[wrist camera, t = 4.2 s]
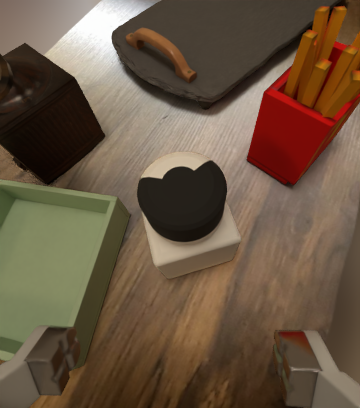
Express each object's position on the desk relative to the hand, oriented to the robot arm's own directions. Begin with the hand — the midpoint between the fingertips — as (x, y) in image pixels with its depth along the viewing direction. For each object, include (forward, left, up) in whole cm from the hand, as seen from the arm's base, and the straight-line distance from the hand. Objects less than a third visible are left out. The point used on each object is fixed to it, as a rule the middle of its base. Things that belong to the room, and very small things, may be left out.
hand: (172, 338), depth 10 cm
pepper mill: (+18, +21, -15) cm, 31 cm away
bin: (+3, +17, -14) cm, 22 cm away
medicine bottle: (+9, +2, -15) cm, 17 cm away
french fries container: (+22, -8, -15) cm, 27 cm away
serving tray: (+45, +2, -15) cm, 48 cm away
